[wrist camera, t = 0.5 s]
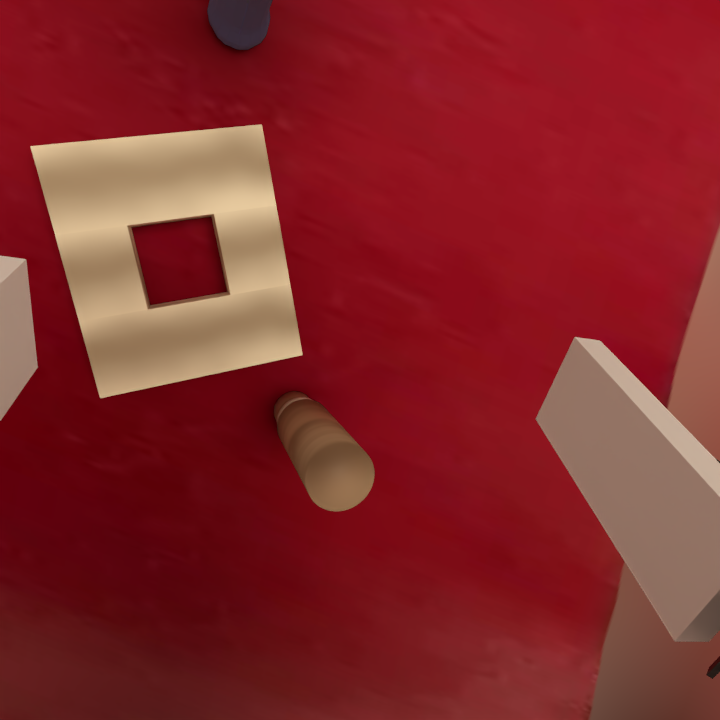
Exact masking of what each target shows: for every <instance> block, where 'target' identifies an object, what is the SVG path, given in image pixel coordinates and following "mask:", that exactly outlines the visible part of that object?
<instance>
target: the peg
mask: <svg viewBox="0 0 720 720" xmlns="http://www.w3.org/2000/svg"><path fill="white" fill-rule="evenodd" d="M274 417H275V419H276V421H277V432H278V436H279V438H280V440H281V442H282V444H283V446H284V448H285V449H286V451H287V453H288V455H289V457H290V459H291V461H292V463H293V465H294V467H295V469H296V471H297V472H298V474H299V476H300V478H301V480H302V482H303V484H304V486H305V488H306V490H307V492H308V493H309V495H310V497H311V499H312V500H313V501H314V502H315V503H316V504H317V505H318V506H320V507H321V508H323V509H326V510H329V511H343V510H347V509H350V508H352V507H354V506H356V505H357V504H359V503H360V502H361V501H362V500H363V499H364V498H365V497H366V496H367V495H368V493H369V491H370V490H371V487H372V485H373V482H374V466H373V463H372V461H371V459H370V457H369V456H368V454H367V453H366V452H365V451H364V450H363V449H362V448H361V447H360V446H359V445H358V444H357V442H356V441H355V440H354V439H353V438H352V437H351V436H350V435H349V434H348V433H347V431H346V430H345V429H344V428H343V427H342V426H341V425H340V424H339V423H338V422H337V421H336V419H335V418H334V417H333V416H332V415H331V414H330V413H329V412H328V411H327V410H326V408H325V407H324V406H323V405H321V404H320V403H319V402H317V401H314V400H312V399H310V398H309V397H308V396H307V395H305V394H304V393H302V392H298V391H291V392H288V393H285V394H284V395H282V396H281V397H280V398H279V399H278V400H277V402H276V404H275V407H274Z"/></svg>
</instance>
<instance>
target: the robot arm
mask: <svg viewBox="0 0 720 720" xmlns="http://www.w3.org/2000/svg"><path fill="white" fill-rule="evenodd" d="M37 368H38V366H37V356H36V347H35V337H34V328H33V319H32V309H31V300H30V291H29V281H28V272H27V262H26V259H20V258H13V257H6V256H0V421H1V419H2V418H3V416H4V415H5V414H6V412H7V411H8V409H9V408H10V406H11V405H12V404H13V402H14V401H15V399H16V398H17V396H18V395H19V393H20V392H21V391H22V389H23V388H24V386H25V385H26V383H27V382H28V381H29V379H30V378H31V376H32V375H33V373H34V372H35V371H36V369H37ZM536 421H537V422H538V424H539V425H540V427H541V429H542V430H543V432H544V433H545V435H546V436H547V438H548V440H549V441H550V443H551V444H552V446H553V448H554V449H555V451H556V452H557V454H558V456H559V457H560V459H561V460H562V462H563V464H564V465H565V467H566V468H567V470H568V472H569V473H570V475H571V476H572V478H573V480H574V481H575V483H576V484H577V486H578V488H579V489H580V491H581V492H582V494H583V496H584V497H585V499H586V500H587V502H588V504H589V505H590V507H591V508H592V510H593V512H594V513H595V515H596V516H597V518H598V520H599V521H600V523H601V524H602V526H603V528H604V529H605V531H606V532H607V534H608V536H609V537H610V539H611V540H612V542H613V544H614V545H615V547H616V548H617V550H618V552H619V553H620V555H621V556H622V558H623V560H624V561H625V563H626V564H627V566H628V568H629V569H630V571H631V572H632V574H633V575H634V577H635V579H636V580H637V582H638V584H639V585H640V587H641V588H642V590H643V592H644V593H645V595H646V596H647V598H648V600H649V601H650V603H651V604H652V606H653V608H654V609H655V611H656V612H657V614H658V615H659V617H660V619H661V620H662V622H663V624H664V625H665V627H666V628H667V630H668V632H669V633H670V635H671V636H672V638H673V639H674V641H691V642H692V641H693V642H694V641H696V642H697V641H698V642H704V641H705V642H709V641H710V640H711V639H712V638H713V637H714V636H715V635H716V633H717V632H718V631H719V630H720V461H718V460H717V459H716V458H714V457H713V456H712V455H711V454H710V453H709V452H708V451H707V450H706V449H705V448H704V447H703V446H702V445H701V444H700V443H699V442H698V441H697V439H696V438H695V437H693V435H692V434H691V433H690V432H689V431H688V430H687V429H686V428H685V427H684V426H683V425H682V424H681V423H680V422H679V421H678V420H677V419H676V418H675V417H674V416H673V415H672V414H671V413H670V412H669V411H668V410H667V409H666V408H665V407H664V406H663V405H662V404H661V403H660V402H659V401H658V399H657V398H656V397H655V396H654V395H653V394H652V393H651V392H650V391H649V390H648V389H647V388H646V387H645V386H644V385H643V384H642V383H641V382H640V381H639V380H638V379H637V378H636V377H635V376H634V375H633V374H632V373H631V372H630V371H629V370H628V369H627V368H626V367H625V366H624V365H623V364H622V363H621V362H620V360H619V359H618V358H617V357H616V356H615V355H614V354H613V353H612V352H611V351H610V350H609V349H608V348H607V347H606V346H605V345H604V344H603V343H602V342H601V341H599V340H592V339H585V338H578V337H575V338H574V340H573V342H572V344H571V346H570V348H569V350H568V352H567V354H566V356H565V359H564V361H563V363H562V365H561V367H560V369H559V371H558V373H557V375H556V377H555V379H554V382H553V384H552V386H551V388H550V390H549V392H548V394H547V396H546V398H545V400H544V403H543V405H542V407H541V409H540V411H539V413H538V415H537V417H536ZM719 672H720V657H719V658H718V659H717V660H716V661H715V662H714V663H713V664H712V665H711V666H710V667H709V669H708V672H707V676H709V677H711V678H712V679H713V678H714V677H715V676H716V675H717V674H718V673H719Z"/></svg>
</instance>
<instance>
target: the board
mask: <svg viewBox="0 0 720 720" xmlns="http://www.w3.org/2000/svg"><path fill="white" fill-rule="evenodd" d="M31 150H32V154H33V157H34V161H35V165H36V168H37V172H38V175H39V179H40V183H41V186H42V190H43V193H44V197H45V201H46V204H47V208H48V212H49V215H50V219H51V222H52V226H53V230H54V233H55V237H56V240H57V244H58V248H59V251H60V255H61V259H62V262H63V266H64V269H65V273H66V277H67V280H68V284H69V287H70V291H71V295H72V298H73V302H74V306H75V309H76V313H77V316H78V320H79V324H80V327H81V331H82V334H83V338H84V342H85V345H86V349H87V353H88V356H89V360H90V363H91V367H92V371H93V374H94V378H95V381H96V385H97V389H98V392H99V396H100V398H104V397H109V396H113V395H118V394H123V393H127V392H132V391H137V390H141V389H146V388H151V387H156V386H160V385H165V384H170V383H174V382H179V381H184V380H188V379H193V378H198V377H202V376H207V375H212V374H216V373H221V372H226V371H230V370H235V369H240V368H244V367H249V366H254V365H258V364H263V363H268V362H272V361H277V360H282V359H287V358H291V357H296V356H301V355H303V354H302V348H301V342H300V337H299V331H298V325H297V320H296V314H295V309H294V303H293V297H292V292H291V286H290V280H289V275H288V269H287V263H286V258H285V252H284V247H283V241H282V235H281V230H280V224H279V218H278V213H277V207H276V201H275V196H274V190H273V185H272V179H271V173H270V168H269V162H268V156H267V151H266V145H265V140H264V134H263V128H262V125H251V126H240V127H230V128H219V129H209V130H198V131H187V132H177V133H166V134H156V135H145V136H134V137H124V138H113V139H103V140H92V141H81V142H71V143H60V144H50V145H39V146H31ZM211 216H212V221H213V226H214V231H215V235H216V240H217V245H218V250H219V255H220V260H221V265H222V269H223V274H224V279H225V284H226V289H227V292H224V293H218V294H213V295H207V296H201V297H195V298H190V299H184V300H178V301H172V302H167V303H161V304H155V305H150V303H149V298H148V294H147V290H146V286H145V282H144V278H143V274H142V270H141V265H140V261H139V257H138V253H137V249H136V245H135V241H134V237H133V232H132V228H131V227H138V226H146V225H153V224H160V223H168V222H175V221H182V220H190V219H197V218H204V217H211Z"/></svg>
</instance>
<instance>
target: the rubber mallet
mask: <svg viewBox="0 0 720 720" xmlns="http://www.w3.org/2000/svg"><path fill="white" fill-rule="evenodd" d="M271 3H272V0H210V1H209V5H208V10H207V12H208V19H209V23H210V24H211V26H212V28H213V30H214V32H215V34H216V36H217V37H218V38H219V39H220V40H221V41H222V42H223V43H224V44H225V45H227V46H230V47H232V48H235V49H237V50H248V49H250V48H252V47H254V46H256V45H258V44H260V43H261V42H262V41H263V39H264V38H265V37H266V34H267V30H268V26H269V22H270V12H269V9H270V6H271Z"/></svg>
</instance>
